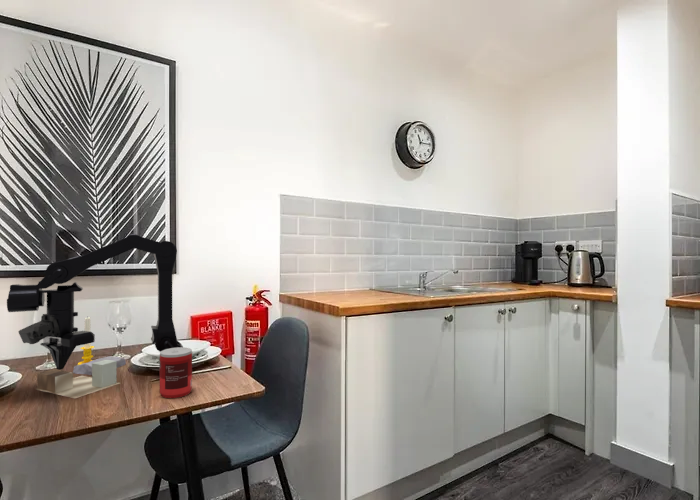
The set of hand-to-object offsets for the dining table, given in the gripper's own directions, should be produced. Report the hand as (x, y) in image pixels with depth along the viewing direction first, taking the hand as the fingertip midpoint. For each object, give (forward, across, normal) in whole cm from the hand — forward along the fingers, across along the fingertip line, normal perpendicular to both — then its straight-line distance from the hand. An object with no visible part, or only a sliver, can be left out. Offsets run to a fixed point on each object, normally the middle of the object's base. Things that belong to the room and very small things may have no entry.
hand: (60, 369), depth 101 cm
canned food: (+6, +28, +12) cm, 31 cm away
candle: (+6, -19, +20) cm, 28 cm away
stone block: (+6, -8, +16) cm, 19 cm away
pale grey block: (+5, +7, +7) cm, 11 cm away
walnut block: (+3, +2, 0) cm, 4 cm away
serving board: (+6, +2, +4) cm, 7 cm away
